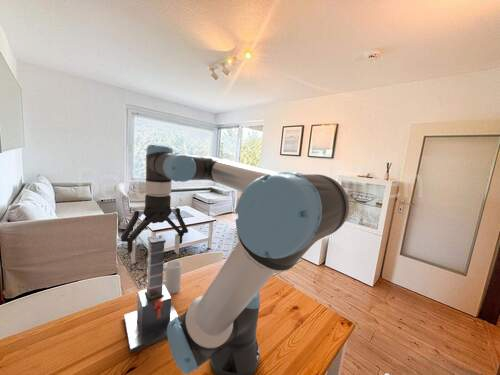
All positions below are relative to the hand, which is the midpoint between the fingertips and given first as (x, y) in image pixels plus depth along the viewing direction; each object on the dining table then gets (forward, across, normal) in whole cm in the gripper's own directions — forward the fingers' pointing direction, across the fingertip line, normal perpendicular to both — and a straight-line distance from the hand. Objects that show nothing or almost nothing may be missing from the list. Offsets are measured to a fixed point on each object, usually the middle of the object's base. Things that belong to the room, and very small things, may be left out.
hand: (156, 256), depth 70 cm
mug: (+26, -10, -17) cm, 32 cm away
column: (+16, 0, 0) cm, 16 cm away
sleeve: (+25, 0, 0) cm, 25 cm away
